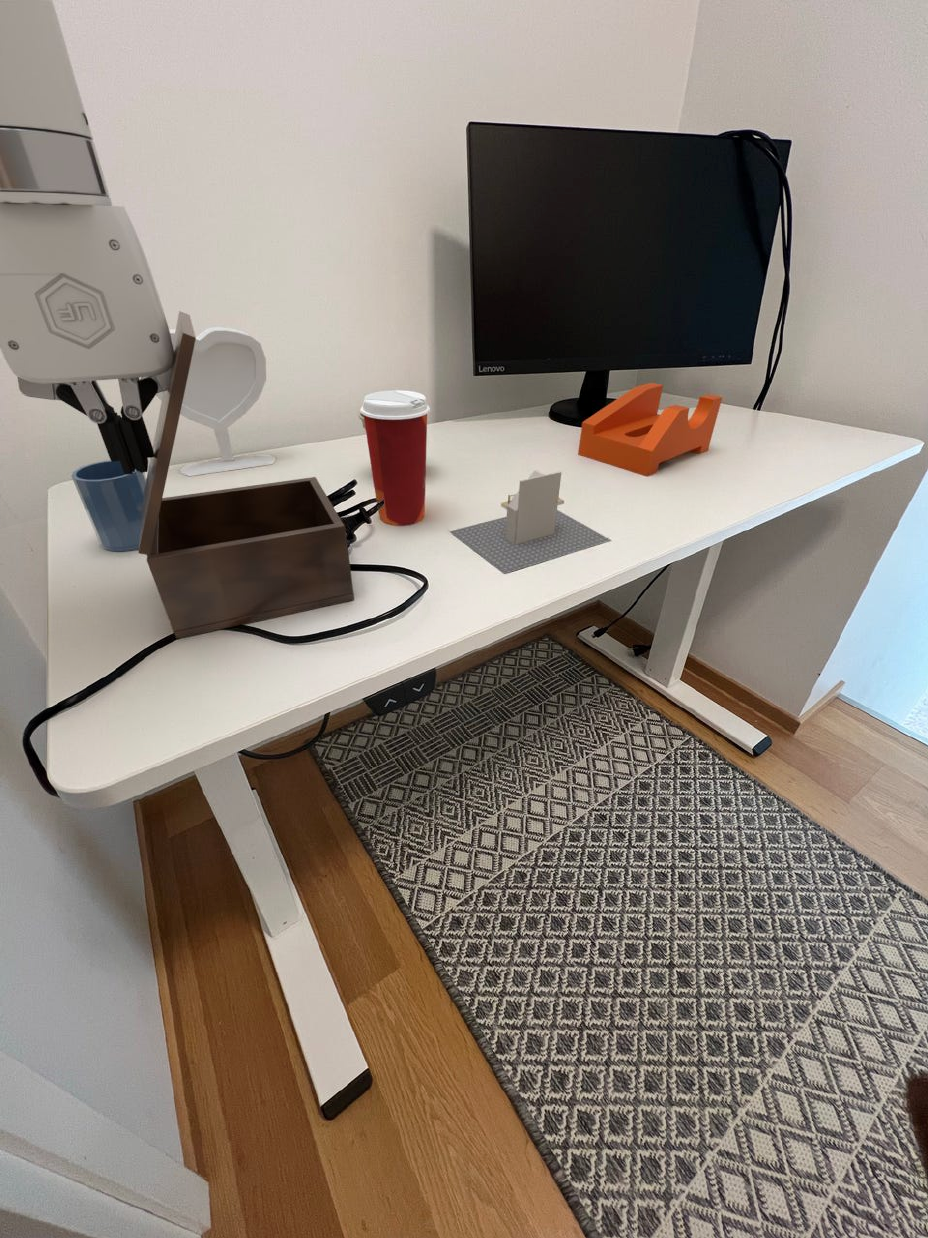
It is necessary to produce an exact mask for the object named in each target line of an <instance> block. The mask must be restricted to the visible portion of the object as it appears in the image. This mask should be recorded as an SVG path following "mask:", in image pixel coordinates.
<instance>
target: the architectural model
mask: <svg viewBox="0 0 928 1238" xmlns="http://www.w3.org/2000/svg"><path fill="white" fill-rule="evenodd" d="M561 481H562V471H557V472H552V473H548V474H547V473H546V474H544V473H543V472H541V471H539V470H537V469H534V470H533V472H532V473H531V474H530V476H529V477H528V478H525V479H522V480H519V488H518V491H517V492H516V493H515V494H512V495H511V494H508V495H507V496H508V497H507V501H504V502H500V507H501V508H503V509H504V510H506V516H504V517H500V518H495V519H491V520H489V521H488V520H487V521H484V522H480V523H477V524H472V525H469V526H464V527H461V528H457V529H454V530H450V531H449V532H450V533H451V534H452V535H454V536H455V537H456V538H457V539H458V540H460V541H461V542H462V543H464V544H465V545H466V546H468V547H469V548H470V549H472V550H473V551H474V552H476V553H477V554H478V555H479V556H481V557H482V558H483V559H485V560H486V561H487V562H489V563H490V564H491V565H493V566H494V567H495V568H496V569H498V570H499V571H500V572H501V573H503V574H504V575H505V574H508V573H509V574H510V573H512V572H514V571H518V570H521V569H525V568H527V567H531V566H533V565H537V564H540V563H543V562H547V561H549V560H553V559H556V558H559V557H563V556H566V555H569V554H573V553H575V552H578V551H581V550H585V549H588V548H591V547H594V546H598V545H601V544H603V543H607V542H611V539H610V538H608V537H606V536H605V535H603V534H601V533H599V532H597V530H594V529H592V528H591V527H589V526H587V525H585V524H583V523H582V522H580V521H578V520H576V519H575V518H573V517H571V516H569V515H568V514H566V513H564V512H563V511H561V510H558V506H560V505H564V504H565V500H564V499H562V498H560V497H559V496H560V489H561V488H560V487H561ZM511 497H512V498H511Z"/></svg>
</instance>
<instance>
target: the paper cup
mask: <svg viewBox="0 0 928 1238" xmlns="http://www.w3.org/2000/svg"><path fill="white" fill-rule="evenodd" d="M427 402H428V401H427V398H426V396H425V395H424V394H422V393H420V392H417V391H412V390H401V389H391V390H381V391H375V392H371V393H369V394H368V393H367V395H365V396H364V398H363V402H362V406H361V407H360V410H359V411H360V412H361V413H362V414H363V415H364V421H365V428H366V430H365V434H366V440H367V447H368V454H369V461H370V468H371V474H372V475H371V476H372V481H373V488H374V495H375V500H384V504H383V506H382V507H381V508H380V509H379V510H378V509H377V512H378V518H379V519H380V521H381V522H383V523H385V524H387V525H391V526H410V525H414V524H416V523H419V522H421V521H422V520H423V519H424V517H425V507H426V484H427V483H426V481H427V479H426V477H427V445H428V444H427V441H428V414H429V413H430V412H431V408H430V406H429V405H428V403H427ZM365 428H364V429H365ZM378 503H380V501H376V505H377V504H378Z"/></svg>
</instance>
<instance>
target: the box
mask: <svg viewBox="0 0 928 1238" xmlns="http://www.w3.org/2000/svg"><path fill="white" fill-rule="evenodd" d="M348 548H349V547H348V539H347V532H346V525H345V524H344V522H343V521H342V519H341V518H340V516H339V514H338V513H337V511H336V509H335V508H334V505H333V504H332V502H331V500H330V499H329V497H328V495H327V494H326V492H325V490H324V489H323V487H322V485H321V484H320V482H319V480H318V479H317V477H316V476H312V477H311V476H310V477H305V478H298V479H290V480H282V481H276V482H275V481H274V482H267V483H261V484H256V485H255V484H254V485H248V486H247V485H246V486H239V487H232V488H225V489H218V490H211V491H203V492H197V493H188V494H182V495H174V496H166V497H162V502H161V507H160V512H159V516H158V521H157V526H156V531H155V535H154V540H153V545H152V550H151V554H150V555H146V562H147V565H148V568H149V571H150V573H151V576H152V578H153V581H154V584H155V587H156V589H157V591H158V594H159V598H160V601H161V602H162V605H163V608H164V611H165V612H166V615H167V618H168V621H169V624H170V626H171V629H172V631H173V634H174V637H175V639H176V640H178V639H183V638H187V637H191V636H196V635H201V634H205V633H211V632H215V631H219V630H224V629H228V628H233V627H237V626H243V625H246V624H250V623H251V624H252V623H255V622H260V621H265V620H269V619H273V618H278V617H282V616H288V615H291V614H296V613H301V612H305V611H311V610H315V609H319V608H324V607H328V606H333V605H338V604H342V603H347V602H352V601H354V600H355V595H354V587H353V586H354V585H353V578H352V571H351V564H350V563H351V562H350V555H349V549H348Z"/></svg>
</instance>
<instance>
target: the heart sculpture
mask: <svg viewBox="0 0 928 1238" xmlns="http://www.w3.org/2000/svg"><path fill="white" fill-rule="evenodd" d="M169 331H170V335H171V340H172V344H173V341H174V336H175V331H176V328H173V329H172V328H169ZM195 337H196V340H195V345H194V350H193V355H192V359H191V364H190V369H189V374H188V378H187V383H186V388H185V393H184V397H183V402H182V407H181V412H180V416H182V417H184V418H186V419H188V420H190V421H193V422H195V423H198V424H199V425H202V426H206V427H207V428H210V429H212V430H213V431H214V435H215V439H216V443H217V447H218V451H219V455H220V458H217V459H210V460H206V461H199V462H193V463H190V464H189V463H188V464H186V465H185V466H184V465H183V466H182V467H181V469H180V470H179V473H181V474H182V475H184V476H187V477H193V476H200V475H209V474H214V473H215V474H216V473H220V472H221V473H222V472H228V471H235V470H242V469H247V468H248V469H249V468H256V467H261V466H263V467H264V466H268V465H269V466H270V465H273V464H274V463H275V461H276V459H277V458H276V457H275V456H273V455H270V454H267V453H259V454H257V453H256V454H249V455H240V456H234V452H233V447H232V443H231V439H230V435H229V430H228V429H229V428H230V427H231V426H232V425H233V424H235V423H236V422H237V421H239V419H241V418H242V417H243V416H245V415H246V414H247V413H248V412H249V410H250V409H251V408H252V407H253V406H255V404H256V403H257V401H258V400H259V399H260V397H261V394H262V392H263V389H264V387H265V384H266V382H267V360H266V356H265V354H264V350H263V348H262V344H261V342H260V341H259V340H257V339H256V338H255V337H253V336H252V335H250V334H249V333H248V332H245V331H242V330H239V329H237V328H236V329H235V328H231V327H225V326H210V327H208V328H206V329H204V330H203V331H201V333H199V334H198V335H197V336H196V335H195ZM155 397H157V398H158V399H159V400H160V401H161V402H162V397H163V391H162V392H160V393H157V394H156V395H155Z"/></svg>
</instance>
